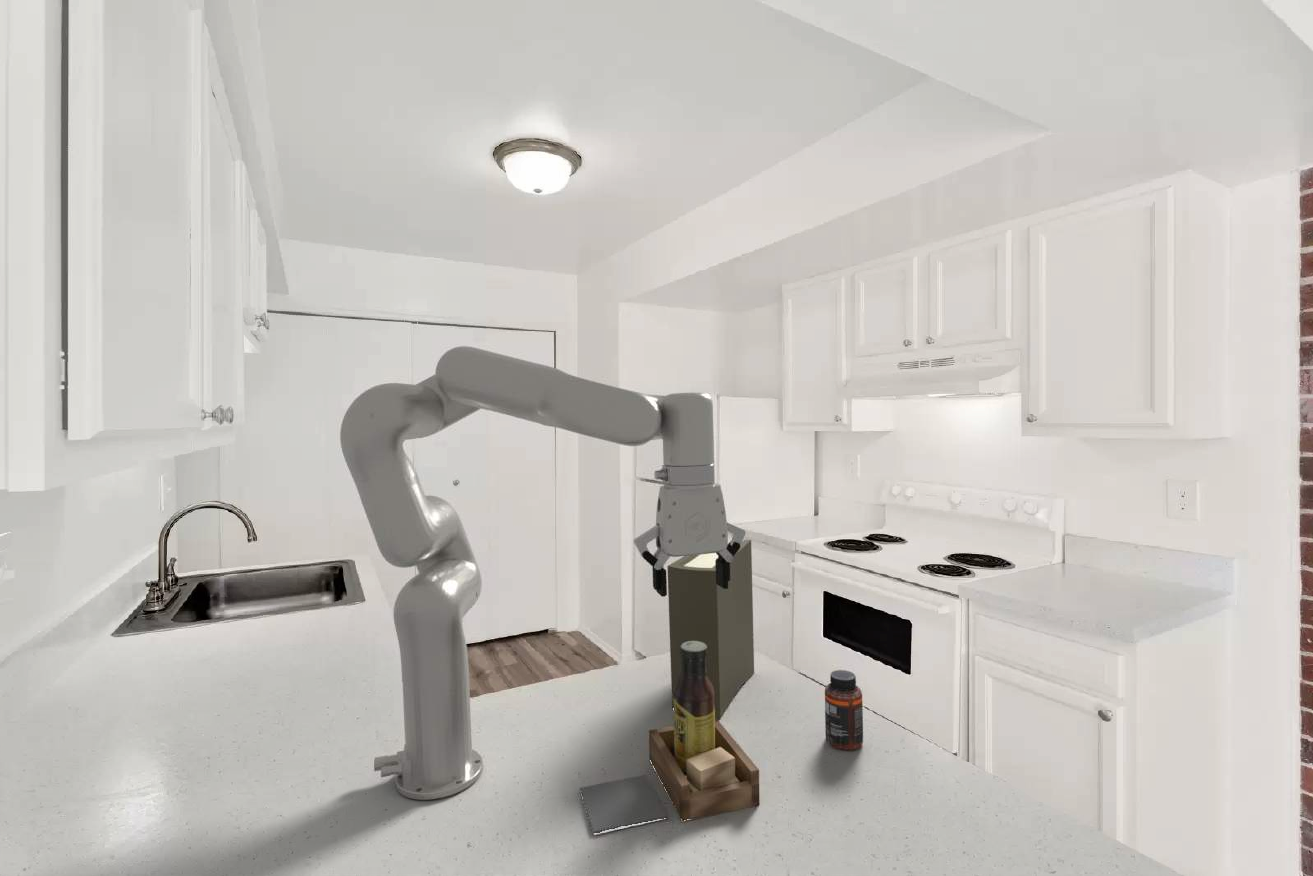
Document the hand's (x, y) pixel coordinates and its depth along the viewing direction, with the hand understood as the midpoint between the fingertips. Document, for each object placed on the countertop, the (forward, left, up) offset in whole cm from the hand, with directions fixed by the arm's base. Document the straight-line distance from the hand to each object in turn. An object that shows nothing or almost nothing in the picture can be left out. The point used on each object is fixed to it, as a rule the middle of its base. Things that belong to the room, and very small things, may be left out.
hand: (692, 590), depth 95 cm
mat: (-13, -4, -28) cm, 31 cm away
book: (+13, +24, -28) cm, 39 cm away
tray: (0, -2, -28) cm, 28 cm away
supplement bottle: (+26, 0, -28) cm, 38 cm away
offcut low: (0, -6, -28) cm, 29 cm away
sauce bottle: (0, 0, -28) cm, 28 cm away
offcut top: (0, -6, -25) cm, 26 cm away
